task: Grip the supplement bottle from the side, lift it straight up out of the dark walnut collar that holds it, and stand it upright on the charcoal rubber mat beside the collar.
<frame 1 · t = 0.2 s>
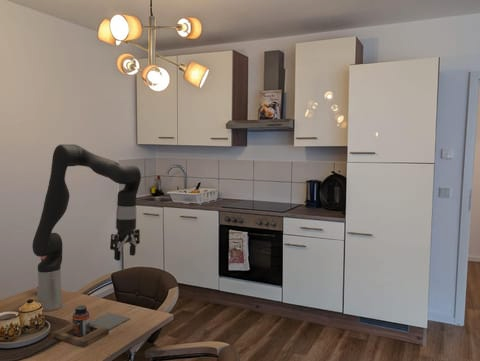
hand: (125, 257, 158), 28 cm above the table, tool pointing down, fingers open, 8 cm apart
charcoal mat: (108, 321, 166), on the table
walnut collar: (81, 335, 154), on the table
vinegar: (47, 294, 196), on the table
supplement bottle: (81, 336, 154), resting in walnut collar
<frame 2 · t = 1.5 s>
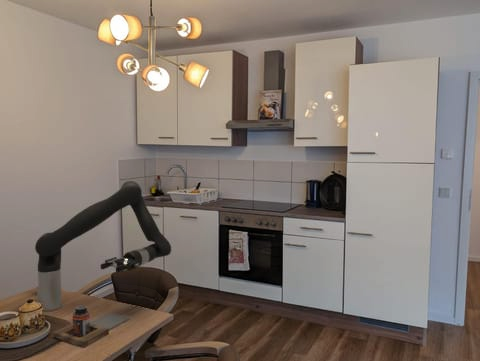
hand: (108, 268, 165), 22 cm above the table, tool horizontal, fingers open, 8 cm apart
nothing on the table moved.
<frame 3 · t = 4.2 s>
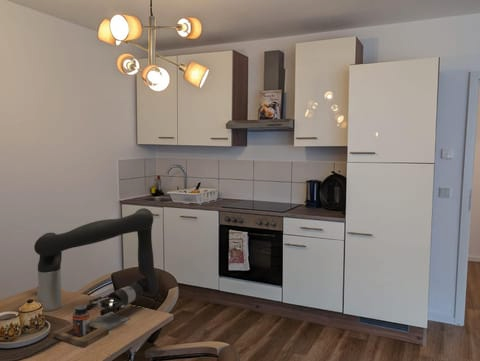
hand: (93, 311, 158), 8 cm above the table, tool horizontal, fingers open, 8 cm apart
nothing on the table moved.
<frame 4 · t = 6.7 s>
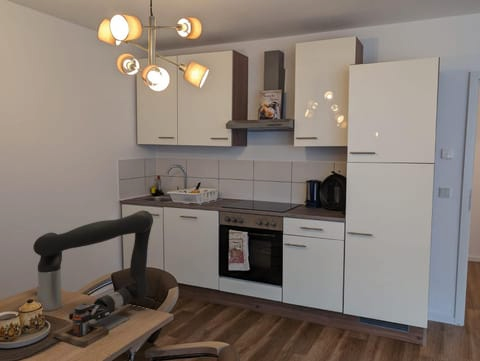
hand: (75, 318, 151), 8 cm above the table, tool horizontal, fingers closed on supplement bottle, 6 cm apart
supplement bottle: (81, 336, 154), resting in walnut collar, touching gripper
everything else where it was.
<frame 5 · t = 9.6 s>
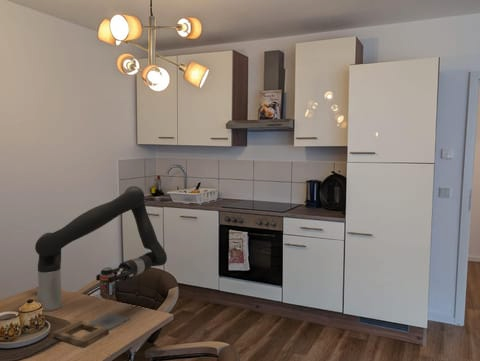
hand: (102, 279, 162), 19 cm above the table, tool horizontal, fingers closed on supplement bottle, 6 cm apart
supplement bottle: (107, 295, 165), point 11 cm above the table, touching gripper
everything else where it was.
when the fingers open (9 cm above the table, at t = 12.8 s): supplement bottle drops 1 cm, resting on charcoal mat.
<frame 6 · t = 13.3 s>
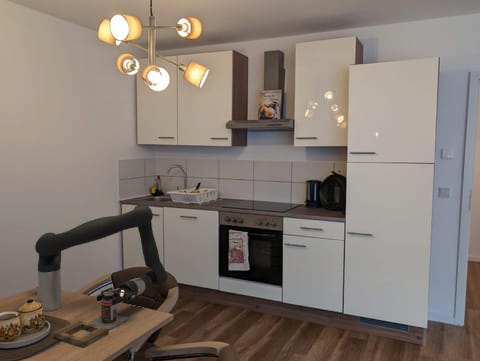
hand: (104, 300, 164), 10 cm above the table, tool horizontal, fingers open, 8 cm apart
supplement bottle: (109, 320, 166), resting on charcoal mat
everything else where it was.
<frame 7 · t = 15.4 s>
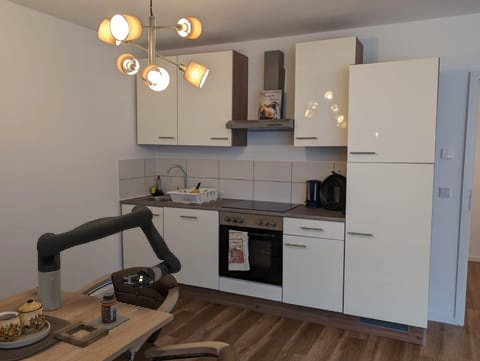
hand: (125, 285, 175), 12 cm above the table, tool horizontal, fingers open, 8 cm apart
nothing on the table moved.
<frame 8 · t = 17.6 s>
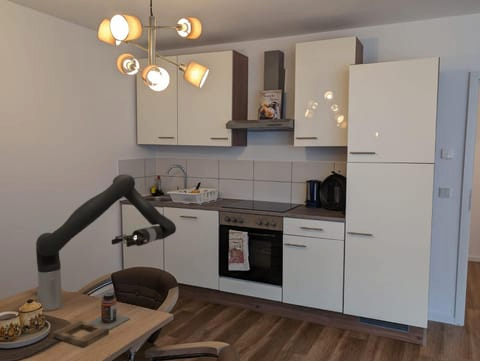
hand: (119, 243, 175), 30 cm above the table, tool horizontal, fingers open, 8 cm apart
nothing on the table moved.
at the end: supplement bottle inside the target area on the charcoal mat (0.1 cm from its centre), point 0.3 cm above the charcoal mat's base; supplement bottle tilted 0°; the gripper is holding nothing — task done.
